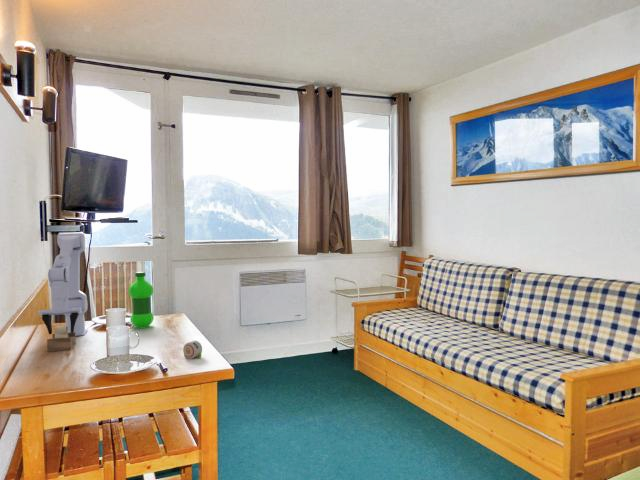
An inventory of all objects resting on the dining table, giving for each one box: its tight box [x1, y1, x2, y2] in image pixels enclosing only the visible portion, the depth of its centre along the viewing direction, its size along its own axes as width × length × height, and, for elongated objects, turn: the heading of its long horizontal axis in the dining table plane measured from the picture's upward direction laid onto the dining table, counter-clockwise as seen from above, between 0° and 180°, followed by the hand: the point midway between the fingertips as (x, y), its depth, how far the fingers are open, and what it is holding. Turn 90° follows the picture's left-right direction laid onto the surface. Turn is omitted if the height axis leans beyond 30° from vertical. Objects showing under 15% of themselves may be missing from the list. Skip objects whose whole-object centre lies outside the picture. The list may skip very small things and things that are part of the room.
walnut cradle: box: [46, 332, 77, 352], centre depth 191 cm, size 10×8×4 cm
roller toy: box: [182, 340, 203, 360], centre depth 173 cm, size 4×6×6 cm
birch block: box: [53, 325, 68, 338], centre depth 191 cm, size 4×4×5 cm
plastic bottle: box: [128, 271, 154, 329], centre depth 225 cm, size 10×10×25 cm
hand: (61, 332), depth 191 cm, fingers open, 7 cm apart
